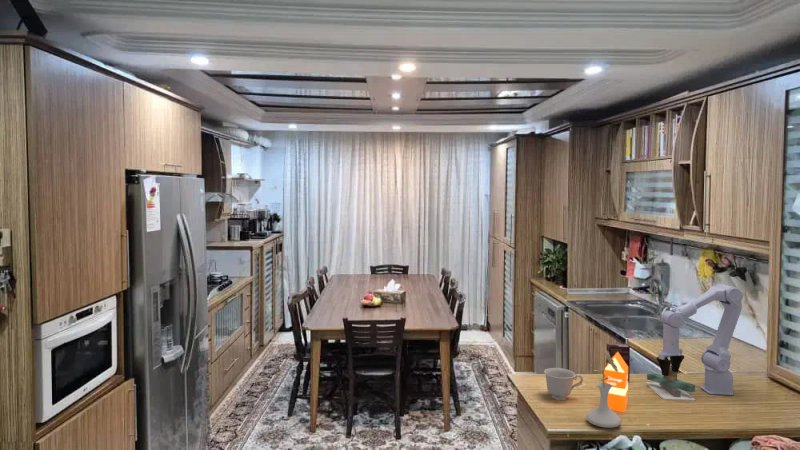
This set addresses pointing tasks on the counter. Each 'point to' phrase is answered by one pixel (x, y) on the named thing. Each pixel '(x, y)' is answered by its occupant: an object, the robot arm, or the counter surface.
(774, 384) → the counter surface
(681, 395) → the ridge board
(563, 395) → the teacup
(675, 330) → the robot arm
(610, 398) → the orange juice
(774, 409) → the counter surface
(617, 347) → the supplement box
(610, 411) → the flower in vase
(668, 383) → the bar
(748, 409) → the counter surface
